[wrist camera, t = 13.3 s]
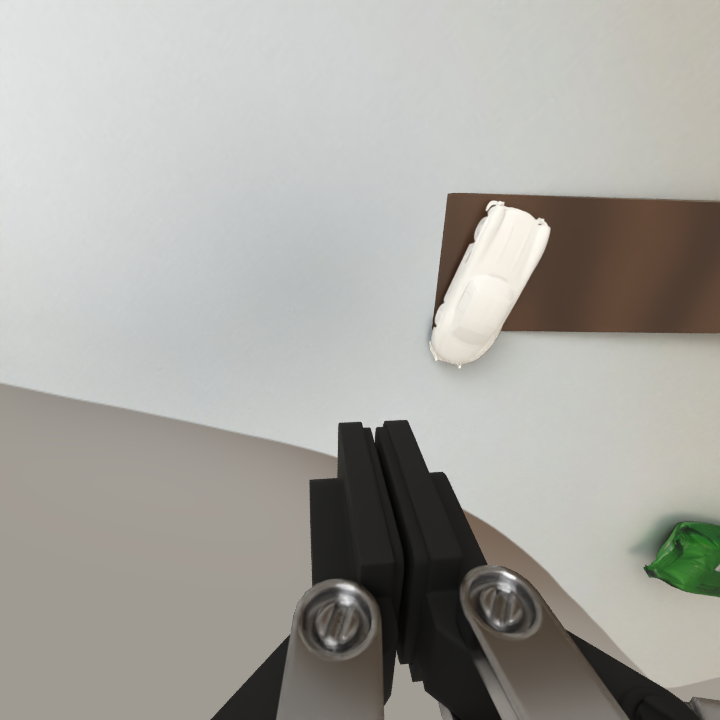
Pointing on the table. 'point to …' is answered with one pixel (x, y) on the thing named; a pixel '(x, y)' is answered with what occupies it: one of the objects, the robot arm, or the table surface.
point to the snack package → (690, 559)
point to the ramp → (604, 263)
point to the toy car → (488, 283)
